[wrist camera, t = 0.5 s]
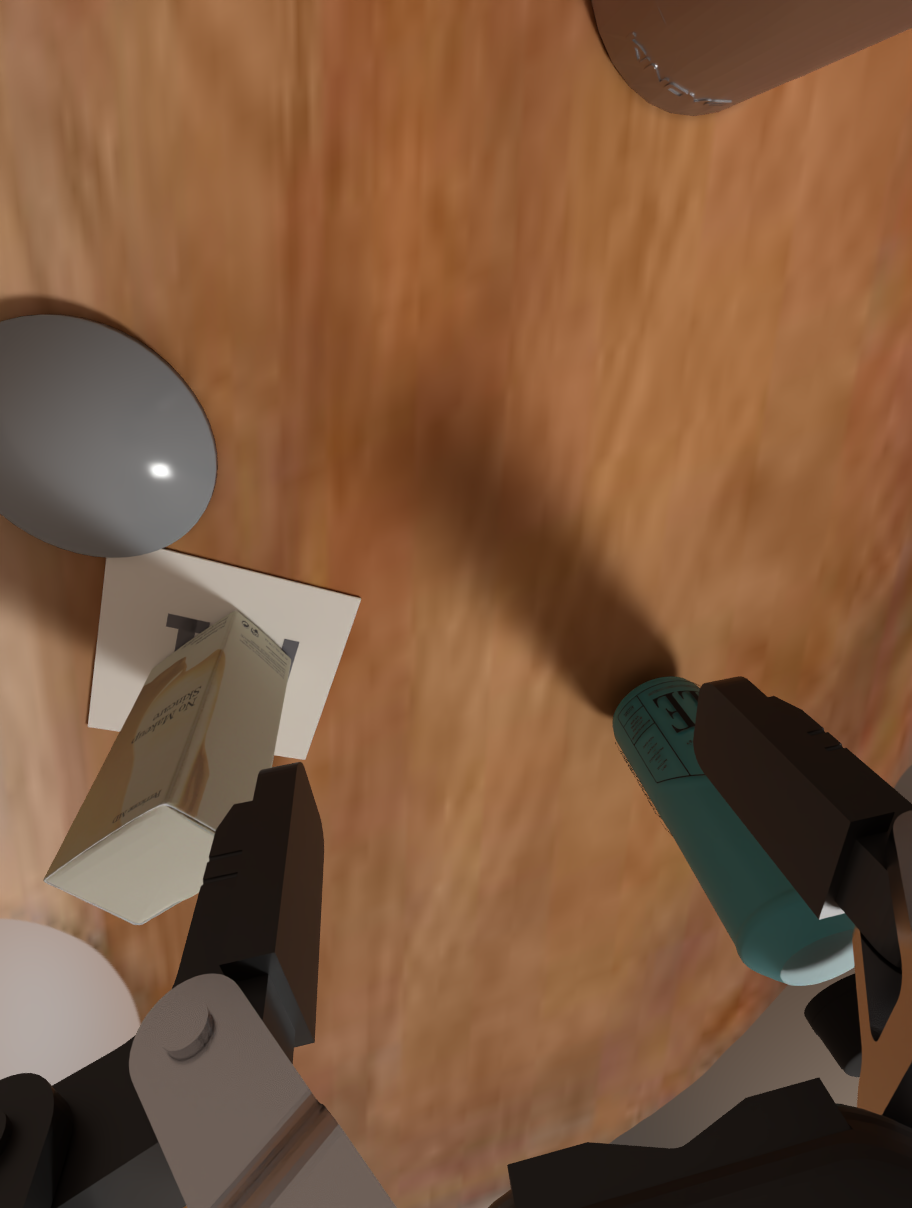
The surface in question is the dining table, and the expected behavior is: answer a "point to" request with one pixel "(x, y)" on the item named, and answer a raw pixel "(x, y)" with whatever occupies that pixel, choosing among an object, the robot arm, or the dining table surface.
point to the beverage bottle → (739, 865)
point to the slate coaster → (98, 439)
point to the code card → (197, 601)
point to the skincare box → (176, 773)
